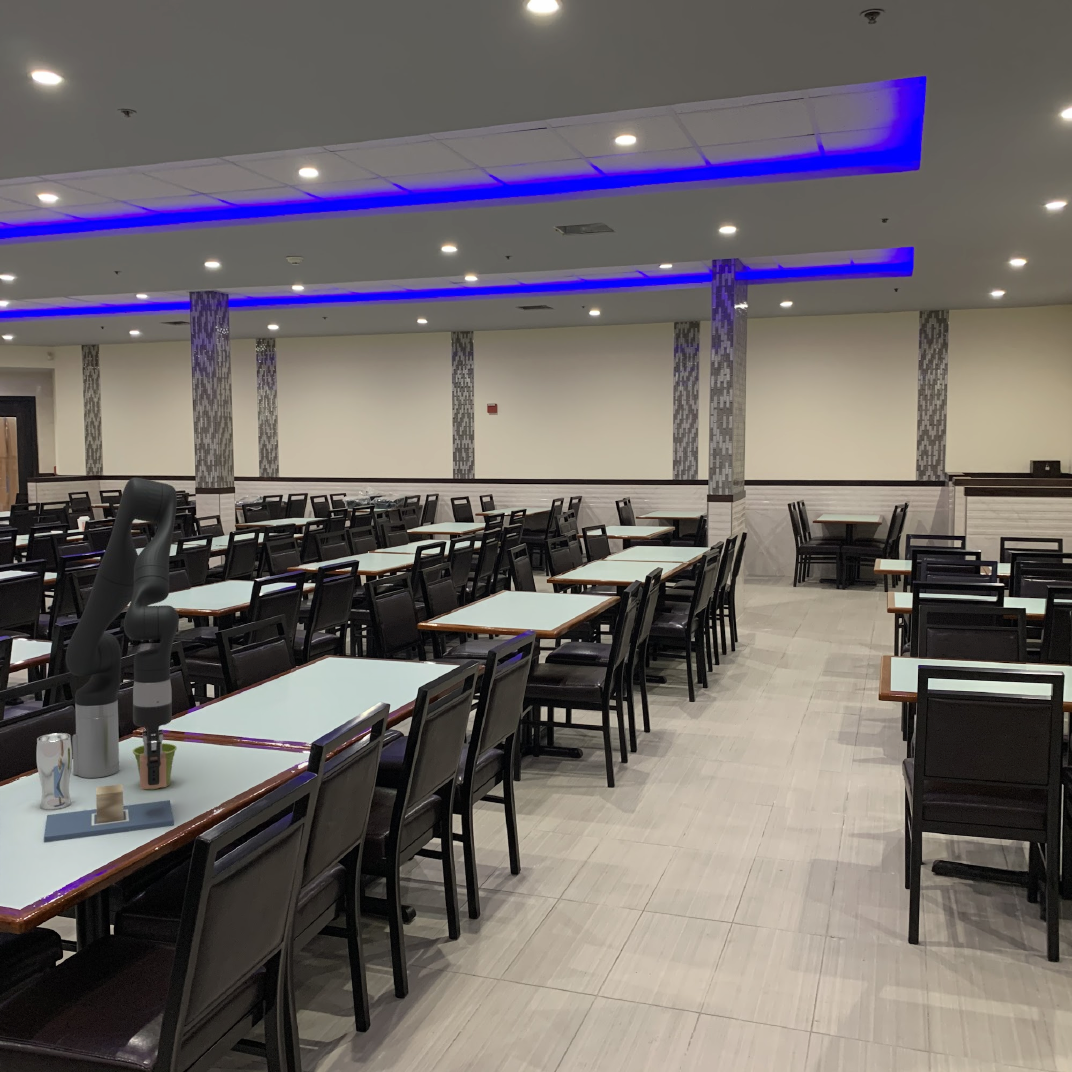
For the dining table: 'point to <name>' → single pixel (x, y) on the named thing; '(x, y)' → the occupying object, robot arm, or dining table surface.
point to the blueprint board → (87, 822)
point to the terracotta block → (145, 772)
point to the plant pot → (169, 752)
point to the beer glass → (54, 769)
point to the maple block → (109, 803)
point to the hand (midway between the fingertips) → (153, 779)
